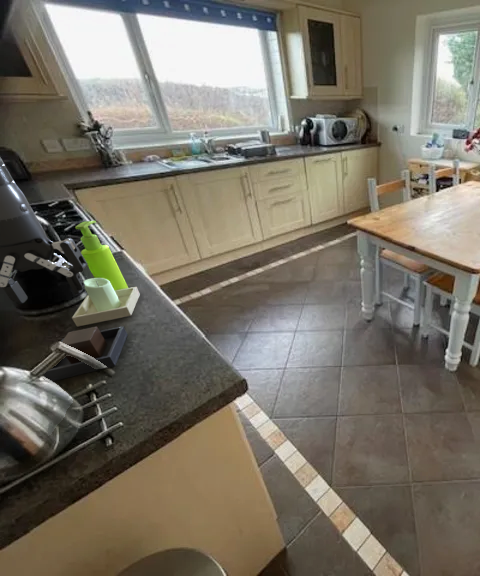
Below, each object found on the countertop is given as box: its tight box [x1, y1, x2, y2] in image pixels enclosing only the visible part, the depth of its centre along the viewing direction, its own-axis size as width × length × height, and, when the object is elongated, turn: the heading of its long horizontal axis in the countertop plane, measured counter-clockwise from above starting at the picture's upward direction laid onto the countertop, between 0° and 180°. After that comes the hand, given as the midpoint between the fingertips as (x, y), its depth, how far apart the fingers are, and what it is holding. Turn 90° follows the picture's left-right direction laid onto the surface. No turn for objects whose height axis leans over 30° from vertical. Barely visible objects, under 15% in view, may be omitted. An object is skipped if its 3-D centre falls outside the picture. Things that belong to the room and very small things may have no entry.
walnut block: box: [62, 326, 107, 364], centre depth 68 cm, size 5×5×5 cm
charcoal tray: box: [44, 325, 128, 382], centre depth 69 cm, size 11×11×3 cm
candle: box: [83, 277, 121, 312], centre depth 83 cm, size 5×5×8 cm
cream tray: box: [71, 286, 141, 327], centre depth 85 cm, size 11×11×3 cm
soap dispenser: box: [74, 220, 129, 291], centre depth 89 cm, size 6×7×20 cm
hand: (51, 296), depth 62 cm, fingers open, 8 cm apart
